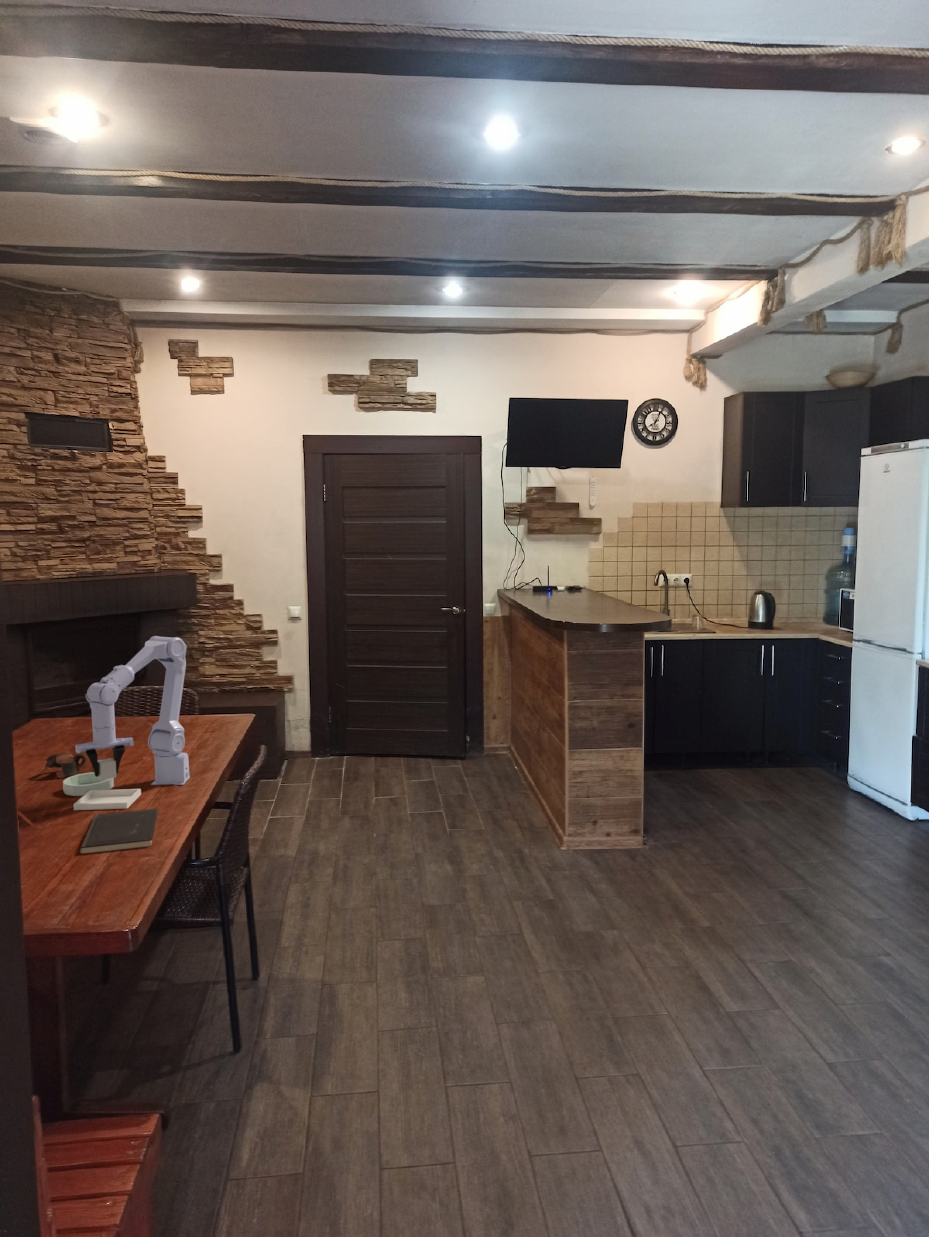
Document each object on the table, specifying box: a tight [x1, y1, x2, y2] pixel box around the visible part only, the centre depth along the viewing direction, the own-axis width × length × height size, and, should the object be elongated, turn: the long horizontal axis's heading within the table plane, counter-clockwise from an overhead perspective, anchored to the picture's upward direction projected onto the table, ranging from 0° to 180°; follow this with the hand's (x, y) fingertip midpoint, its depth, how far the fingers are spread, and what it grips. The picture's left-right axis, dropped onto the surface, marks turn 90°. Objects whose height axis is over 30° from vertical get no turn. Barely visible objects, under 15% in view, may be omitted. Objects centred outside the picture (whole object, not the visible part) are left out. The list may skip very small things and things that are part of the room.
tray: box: [73, 788, 142, 811], centre depth 225 cm, size 14×12×2 cm
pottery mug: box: [44, 750, 88, 779], centre depth 254 cm, size 12×10×8 cm
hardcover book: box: [79, 808, 159, 855], centre depth 203 cm, size 16×23×2 cm
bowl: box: [62, 771, 115, 797], centre depth 237 cm, size 13×13×4 cm
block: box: [97, 757, 117, 780], centre depth 224 cm, size 4×4×5 cm
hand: (106, 774), depth 224 cm, fingers closed on block, 4 cm apart
